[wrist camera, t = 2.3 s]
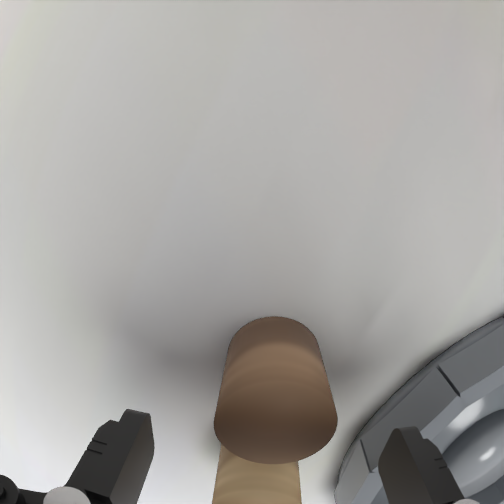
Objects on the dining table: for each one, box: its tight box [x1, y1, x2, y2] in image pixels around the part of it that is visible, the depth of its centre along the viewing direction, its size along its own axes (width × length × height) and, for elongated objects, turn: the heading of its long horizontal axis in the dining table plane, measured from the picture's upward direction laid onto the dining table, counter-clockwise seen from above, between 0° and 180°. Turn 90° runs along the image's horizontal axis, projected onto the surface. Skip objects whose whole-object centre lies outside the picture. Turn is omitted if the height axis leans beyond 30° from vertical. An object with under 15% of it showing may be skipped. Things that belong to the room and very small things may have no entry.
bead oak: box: [212, 444, 302, 504], centre depth 13 cm, size 4×4×4 cm
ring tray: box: [334, 317, 504, 504], centre depth 14 cm, size 20×20×3 cm
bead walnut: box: [214, 316, 338, 464], centre depth 12 cm, size 4×4×4 cm
